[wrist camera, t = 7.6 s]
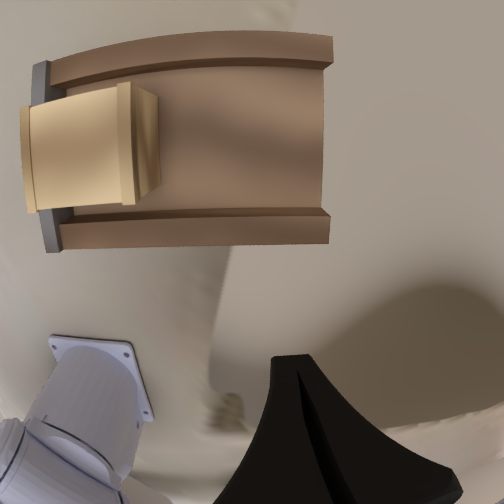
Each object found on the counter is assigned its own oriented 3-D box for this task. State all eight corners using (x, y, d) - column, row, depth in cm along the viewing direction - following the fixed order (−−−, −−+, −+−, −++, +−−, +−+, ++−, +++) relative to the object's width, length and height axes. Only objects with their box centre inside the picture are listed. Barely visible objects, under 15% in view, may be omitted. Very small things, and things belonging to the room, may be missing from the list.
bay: (315, 227, 19) (331, 247, 16) (72, 234, 18) (46, 252, 15) (318, 50, 15) (335, 33, 12) (62, 72, 14) (32, 65, 11)
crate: (160, 186, 16) (135, 204, 12) (70, 194, 16) (27, 213, 12) (158, 94, 15) (130, 81, 10) (65, 110, 14) (19, 108, 10)
